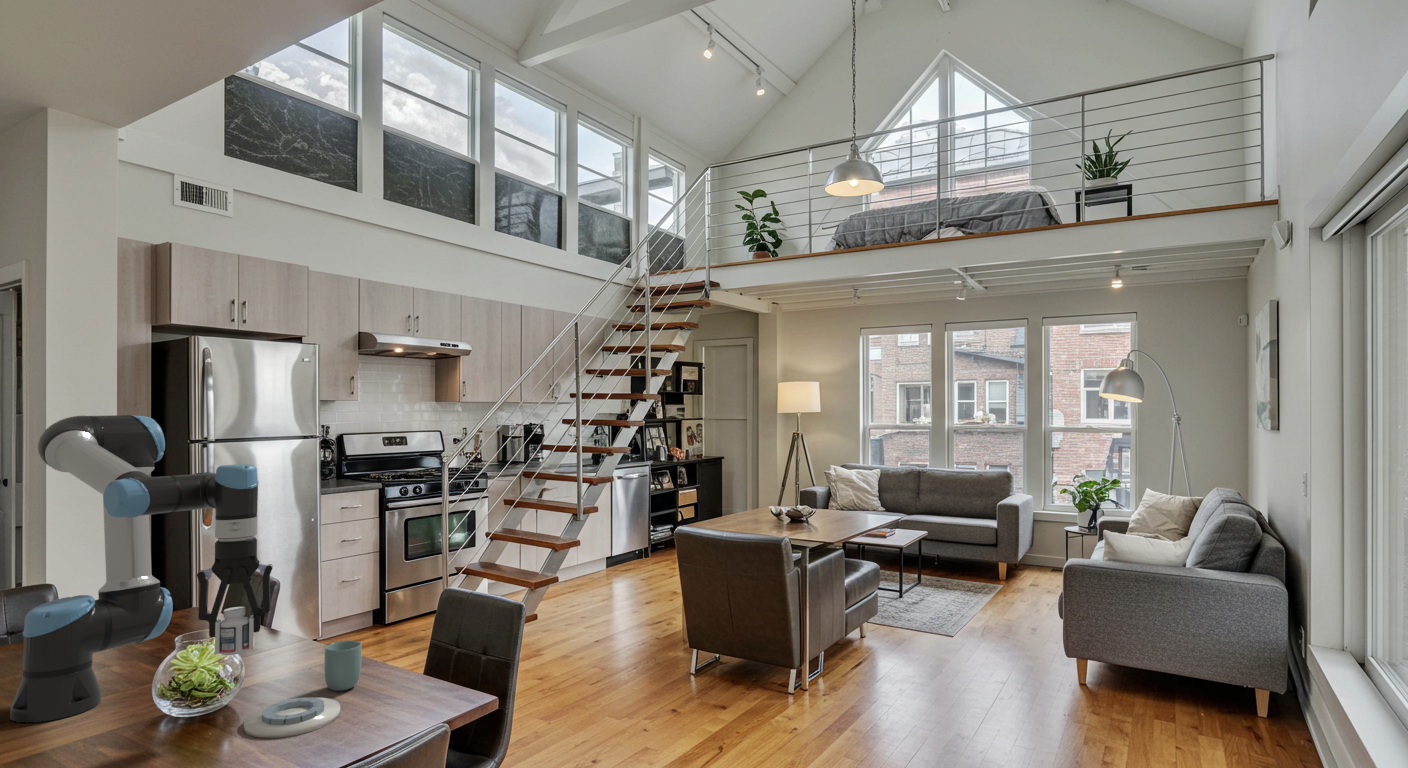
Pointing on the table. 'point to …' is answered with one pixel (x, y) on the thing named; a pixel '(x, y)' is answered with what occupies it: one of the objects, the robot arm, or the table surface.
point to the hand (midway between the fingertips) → (234, 650)
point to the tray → (291, 717)
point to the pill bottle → (234, 631)
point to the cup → (342, 664)
